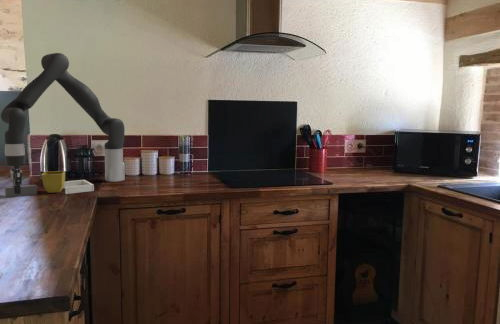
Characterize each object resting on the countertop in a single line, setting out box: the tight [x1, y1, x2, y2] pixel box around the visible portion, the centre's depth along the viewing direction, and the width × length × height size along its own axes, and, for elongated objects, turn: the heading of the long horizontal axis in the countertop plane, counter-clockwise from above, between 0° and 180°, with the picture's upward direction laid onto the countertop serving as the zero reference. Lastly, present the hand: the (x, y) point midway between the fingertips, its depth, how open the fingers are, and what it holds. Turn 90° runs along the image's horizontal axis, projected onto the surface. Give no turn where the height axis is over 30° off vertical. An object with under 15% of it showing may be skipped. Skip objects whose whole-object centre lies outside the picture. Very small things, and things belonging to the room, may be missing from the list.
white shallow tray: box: [62, 179, 95, 195], centre depth 193 cm, size 12×15×3 cm
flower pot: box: [41, 170, 66, 194], centre depth 187 cm, size 9×9×9 cm
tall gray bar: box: [4, 184, 38, 199], centre depth 179 cm, size 12×3×4 cm, turn 128°
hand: (17, 193), depth 179 cm, fingers closed on tall gray bar, 3 cm apart
